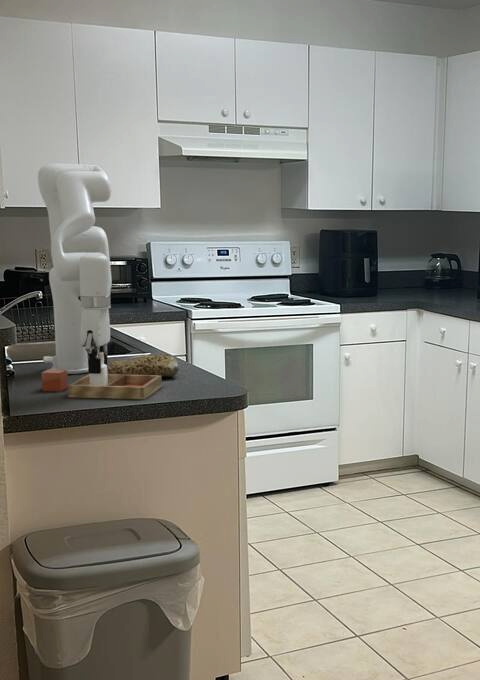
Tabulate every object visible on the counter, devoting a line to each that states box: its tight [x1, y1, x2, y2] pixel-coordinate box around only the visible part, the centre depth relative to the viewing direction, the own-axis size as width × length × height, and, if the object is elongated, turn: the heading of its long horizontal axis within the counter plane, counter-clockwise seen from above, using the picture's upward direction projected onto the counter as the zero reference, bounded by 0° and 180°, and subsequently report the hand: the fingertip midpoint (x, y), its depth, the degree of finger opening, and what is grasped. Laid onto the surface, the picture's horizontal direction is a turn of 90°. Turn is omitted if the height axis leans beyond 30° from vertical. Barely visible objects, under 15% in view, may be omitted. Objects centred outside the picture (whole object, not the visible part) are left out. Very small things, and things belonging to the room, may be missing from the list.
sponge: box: [107, 353, 180, 377], centre depth 254 cm, size 13×8×20 cm
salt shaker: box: [88, 352, 108, 386], centre depth 237 cm, size 4×4×10 cm
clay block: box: [41, 368, 69, 392], centre depth 239 cm, size 5×5×5 cm
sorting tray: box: [67, 373, 163, 400], centre depth 237 cm, size 20×16×3 cm
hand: (98, 370), depth 237 cm, fingers closed on salt shaker, 4 cm apart
